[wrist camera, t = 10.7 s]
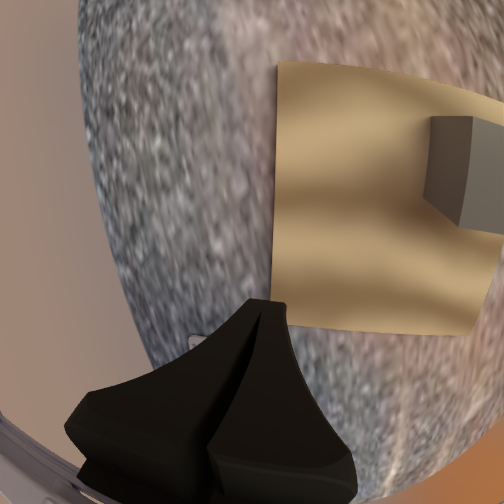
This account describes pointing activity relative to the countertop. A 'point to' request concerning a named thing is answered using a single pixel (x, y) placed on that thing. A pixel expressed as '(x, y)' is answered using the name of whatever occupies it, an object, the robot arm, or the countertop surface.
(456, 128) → the grey cube
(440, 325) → the board
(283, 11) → the countertop surface
